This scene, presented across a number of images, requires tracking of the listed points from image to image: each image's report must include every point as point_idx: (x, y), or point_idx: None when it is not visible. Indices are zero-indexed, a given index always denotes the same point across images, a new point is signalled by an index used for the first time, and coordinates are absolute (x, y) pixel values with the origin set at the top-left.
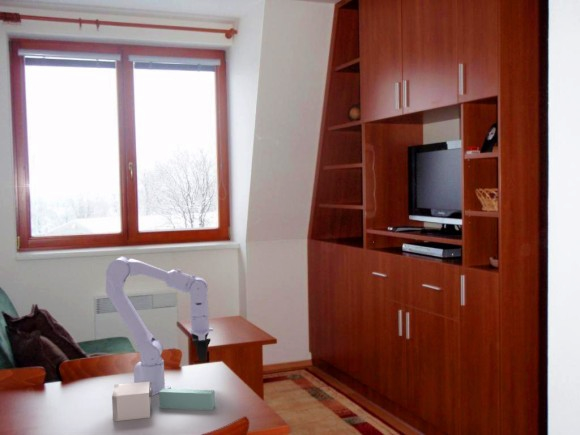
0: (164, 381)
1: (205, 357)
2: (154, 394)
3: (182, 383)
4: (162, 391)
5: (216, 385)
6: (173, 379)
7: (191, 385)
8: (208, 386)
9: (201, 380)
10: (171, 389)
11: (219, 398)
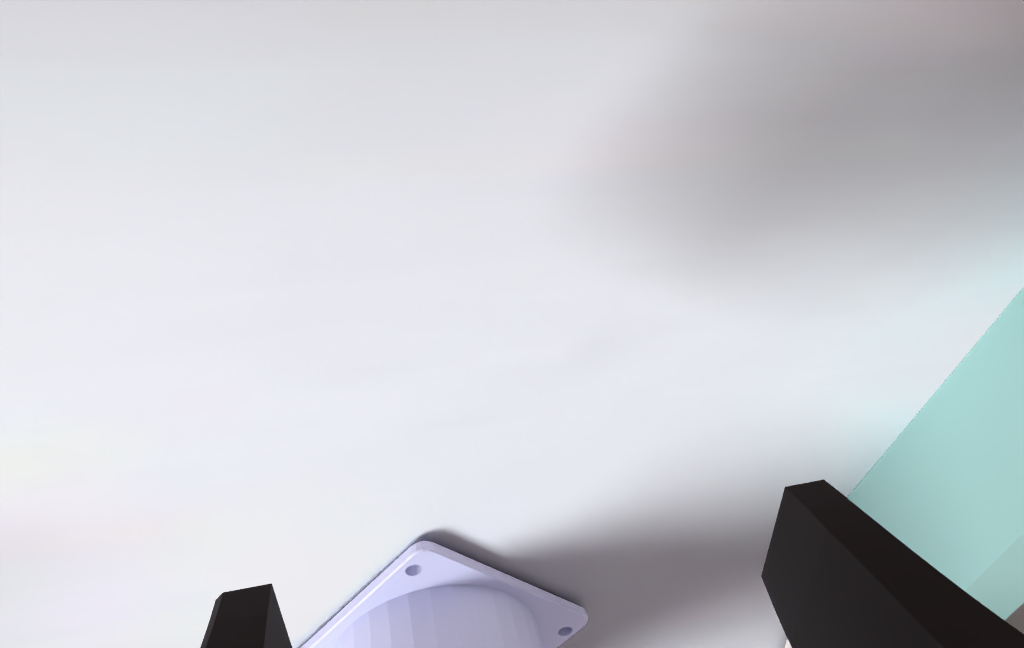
0: (448, 644)
1: (876, 532)
2: (583, 609)
3: (233, 472)
4: (1012, 604)
5: (407, 57)
6: (51, 576)
7: (335, 375)
8: (428, 173)
9: (107, 283)
10: (1014, 558)
11: (976, 19)
